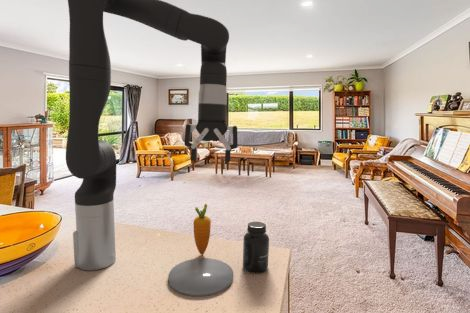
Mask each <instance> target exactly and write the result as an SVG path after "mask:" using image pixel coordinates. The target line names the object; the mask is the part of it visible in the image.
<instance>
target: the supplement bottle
mask: <svg viewBox="0 0 470 313" xmlns="http://www.w3.org/2000/svg"><path fill="white" fill-rule="evenodd" d="M246 231H247V232H246V233H245V234H244V235H243V245H242V246H243V248H242V268H243V269H244V271H246V272H248V273H252V274H262V273H264V272H266V271H267V270H268V269H269V268H268V267H269V253H270V236H269V235H268V234H267V233H266V232H267V225H266V224H265V223H264V222H262V221H261V222H260V221H251V222H248V224H247V230H246Z"/></svg>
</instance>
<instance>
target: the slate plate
mask: <svg viewBox="0 0 470 313" xmlns="http://www.w3.org/2000/svg"><path fill="white" fill-rule="evenodd" d="M233 281H234V271H233V269H232V267H231V265H230V264H228V263H227V262H224V261H223V260H220V259H215V258H211V257H210V258H209V257H208V258H207V257H198V258H191V259H188V260H184V261H182V262H180V263H178V264H176V265H175V266H173V267H172V268H171V269H170V270H169V273H168V284H169V286H170V288H171V289H172V290H173V291H175V292H177V293H179V294H181V295H184V296H189V297H207V296H213V295H216V294H219V293H221V292H223V291H225V290H226V289H228V288H229V287H230V286H231V284H232V283H233Z"/></svg>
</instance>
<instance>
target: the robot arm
mask: <svg viewBox="0 0 470 313" xmlns="http://www.w3.org/2000/svg"><path fill="white" fill-rule="evenodd" d="M67 6H68V15H69V32H68V34H69V38H68V39H69V44H68V45H69V46H68V48H69V49H68V50H69V51H68V52H69V57H68V59H69V60H68V85H69V86H68V87H69V100H68V101H69V103H68V104H69V107H68V109H69V110H68V113H69V114H68V116H69V118H68V131H67V138H66V146H65V163H66V167H67V169H68V171H69V172H70V174H71V175H72V176H74V177H75V178H78V179H81V180H82V182H81V184H80V186H79V188H77V190H76V191H75V193H74V207H75V209H74V210H75V228H76V229H75V230H74V231H73V232H72V238H73V240H72V241H73V256H74V257H73V258H74V268H79V269H80V270H82V271H83V270H84V271H97V270H101V269H105V268H108V267H109V266H111V265H113V264H114V263H115V261H116V259H117V257H116V253H117V252H116V230H115V229H116V227H115V204H114V201H115V200H114V194H115V190H116V189H117V188H116V187H117V156H116V153H115V152H116V151H115V149H114V148H113V146H112V145H111V144H110V143H109V142H107V141H106V140H105V141H104V140H101V139H99V138H100V136H99V131H100V130H99V127H100V120H101V117H102V115H103V111H104V110H105V109H104V108H105V107H106V104H107V102H108V99H109V97H110V92H111V85H112V84H111V83H112V82H111V81H112V78H111V77H112V75H111V74H112V71H111V70H112V65H111V56H110V52H109V47H108V43H107V39H106V34H105V28H104V13H107V14H111V15H115V16H119V17H123V18H127V19H128V20H133V21H134V22H138V23H140V24H142V25H145V26H147V27H150V28H152V29H155V30H156V31H159V32H161V33H164V34H166V35H168V36H171V37H173V38H175V39H177V40H181V41H191V42H194V43H197V44H199V45H200V57H201V58H200V62H201V63H200V64H201V65H200V72H199V74H200V76H199V89H198V90H199V91H198V102H197V103H198V107H197V108H198V109H197V114H198V115H197V123H196V124H191V123H187V124H185V133H184V134H185V135H184V146H185V147H187V148H190V159H191V161H193V163H194V164H195V163H196V164H197V161H198V148H197V147H198V146H199V145H200V144H201V142H203V140H204V141H205V142H209V141H213V142H218V141H220V143H221V144H222V145H223V146H224V148H225V151H224V154H225V156H224V165H228V163H229V162H230V161H231V151H232V150H233V149H237V148H238V126H237V125H232V126H231V125H229V126H228V125H227V105H228V104H227V103H228V91H227V80H228V79H227V76H228V75H227V74H228V73H227V72H228V71H227V65H226V62H227V61H226V58H227V57H226V56H227V46H228V43H229V39H230V33H229V30H228V28H227V26H226V25H225V24H224V23H222V22H221V21H220V20H217V19H215V18H213V17H209V16H205V15H201V14H197V13H196V14H195V13H192V12H190V11H187V10H186V9H183V8H182V7H179V6H177V5H174V4H172V3H170V2H167V1H164V0H67ZM195 130H196V131H197V133H198V134H199V135H198V136H197V138H196V139H195V141H194V142H191V138H192V137H191V136H192V133H193V132H194V131H195ZM227 131H229V133H230V135H232V143H231V144H230V143H229V142H228V140H227V138H226V137H225V136H224V135H225V134H226V133H227Z"/></svg>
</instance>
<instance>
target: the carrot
mask: <svg viewBox="0 0 470 313" xmlns="http://www.w3.org/2000/svg"><path fill="white" fill-rule="evenodd" d="M207 209H208V204H207V203H205V204H204V205H203V209H202V210H199V208H198V207H197V206H196V207H195V209H194V210H195V212H196V213H197V215H198V216H196V217H195V218H194V219H193V236H194V237H193V238H194V242H195V246H196V249H197V250H198V252H199V254H200V255H202V256H203V255H204V254H205V252H206V251H207V249H208V245H209V243H210V242H209V241H210V237H211V226H212V225H211V221H212V220H211V218H210V217H208V216H206V213H207Z"/></svg>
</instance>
